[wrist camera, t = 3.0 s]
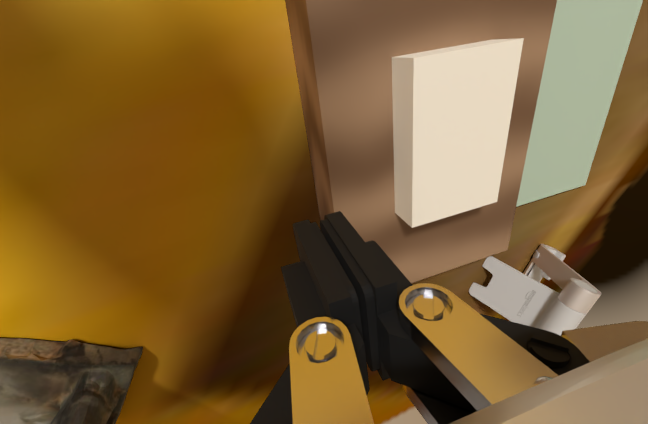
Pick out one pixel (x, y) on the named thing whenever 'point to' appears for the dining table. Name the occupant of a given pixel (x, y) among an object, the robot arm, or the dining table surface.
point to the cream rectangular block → (451, 127)
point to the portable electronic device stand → (538, 292)
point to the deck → (377, 115)
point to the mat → (575, 93)
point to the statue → (63, 381)
